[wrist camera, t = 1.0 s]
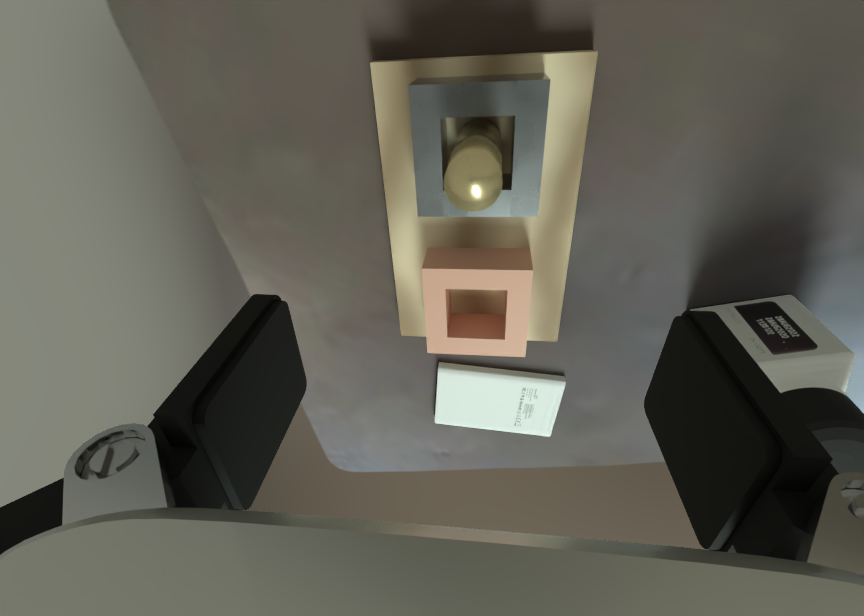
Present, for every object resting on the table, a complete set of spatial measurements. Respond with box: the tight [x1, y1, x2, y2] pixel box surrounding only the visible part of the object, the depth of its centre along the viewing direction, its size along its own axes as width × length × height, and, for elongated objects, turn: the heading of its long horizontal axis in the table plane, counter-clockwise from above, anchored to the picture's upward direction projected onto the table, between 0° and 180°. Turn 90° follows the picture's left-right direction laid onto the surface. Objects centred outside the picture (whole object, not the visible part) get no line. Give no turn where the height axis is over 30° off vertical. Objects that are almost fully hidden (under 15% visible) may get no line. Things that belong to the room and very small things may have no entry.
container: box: [691, 295, 864, 474], centre depth 32 cm, size 8×8×13 cm
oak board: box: [370, 50, 598, 341], centre depth 33 cm, size 14×22×2 cm, turn 3°
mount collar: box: [408, 73, 551, 217], centre depth 28 cm, size 8×8×4 cm
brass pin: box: [444, 118, 503, 212], centre depth 26 cm, size 3×3×9 cm
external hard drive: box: [435, 362, 566, 437], centre depth 45 cm, size 2×8×12 cm
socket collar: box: [422, 248, 533, 357], centre depth 35 cm, size 8×8×4 cm
